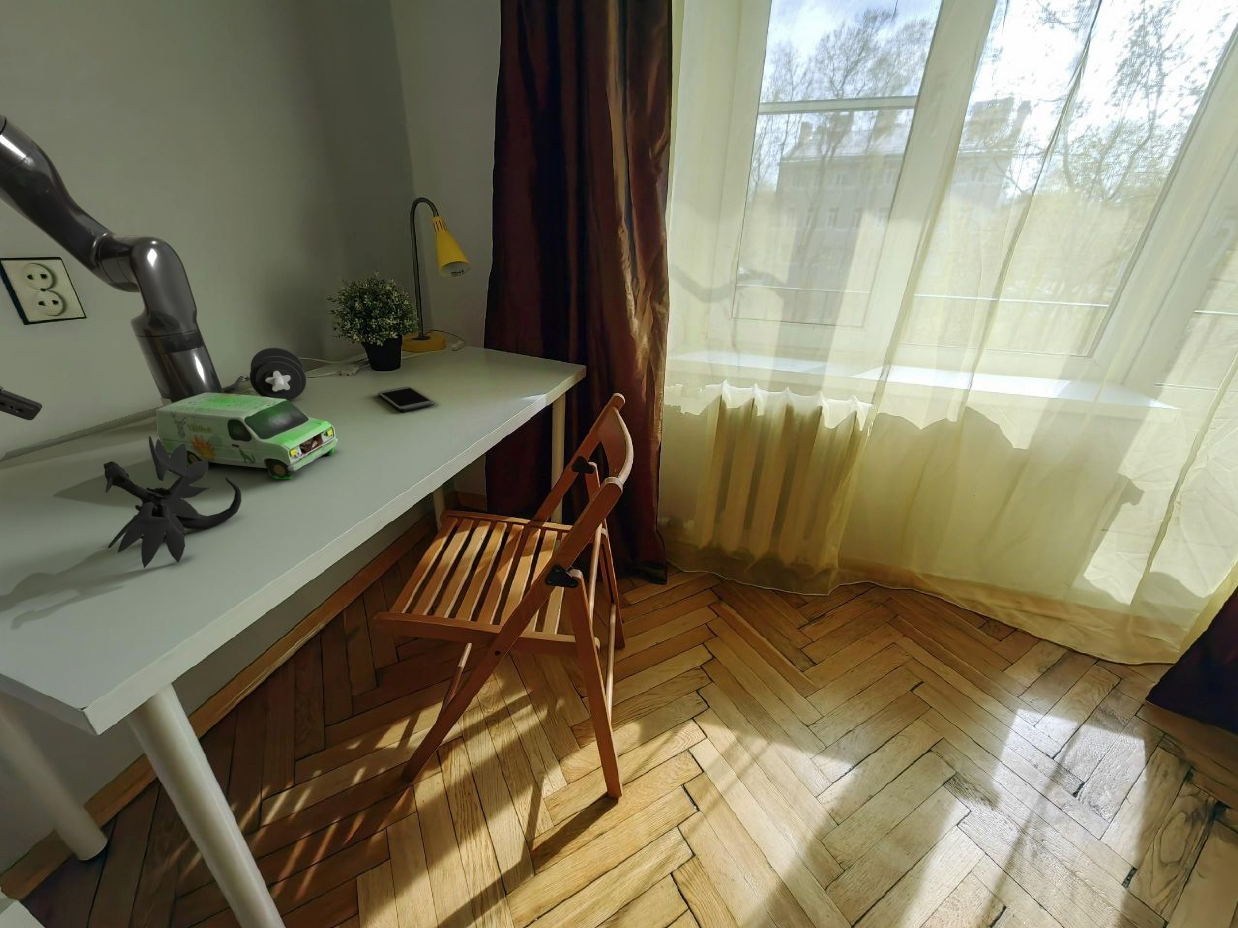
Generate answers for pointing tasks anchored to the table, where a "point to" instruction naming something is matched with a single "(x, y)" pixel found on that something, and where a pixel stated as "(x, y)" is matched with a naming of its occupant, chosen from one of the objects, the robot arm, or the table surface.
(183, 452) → the figurine
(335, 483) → the table surface
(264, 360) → the dumbbell
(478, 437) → the table surface
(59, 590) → the table surface
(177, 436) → the toy car
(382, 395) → the smartphone
